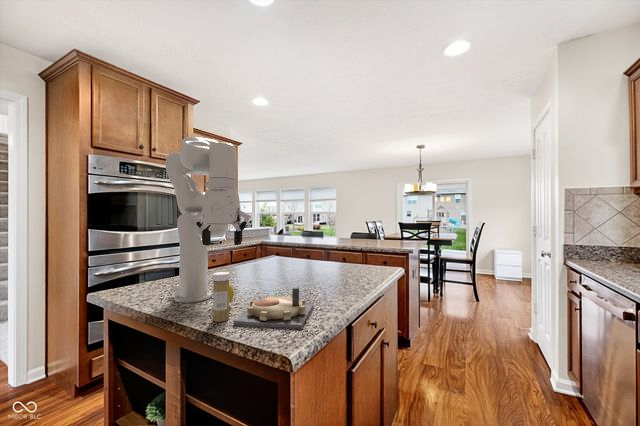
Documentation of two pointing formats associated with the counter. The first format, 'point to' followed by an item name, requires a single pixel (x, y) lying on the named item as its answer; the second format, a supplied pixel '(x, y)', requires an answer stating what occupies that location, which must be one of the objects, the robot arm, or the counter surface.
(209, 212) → the robot arm
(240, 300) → the counter surface
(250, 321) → the dial base
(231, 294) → the lemon
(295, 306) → the sprocket dial
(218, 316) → the sprinkles bottle
